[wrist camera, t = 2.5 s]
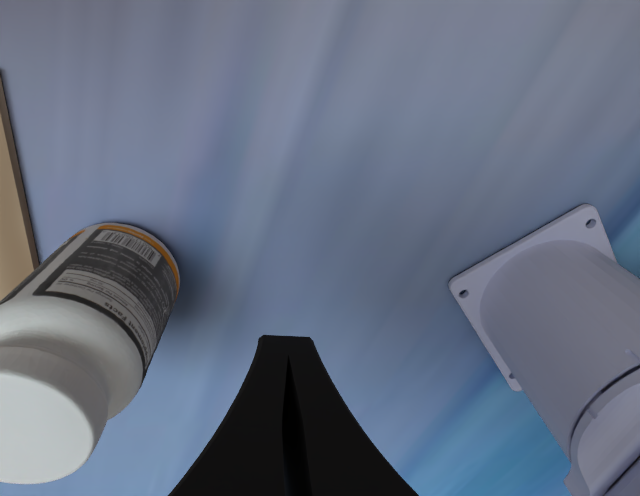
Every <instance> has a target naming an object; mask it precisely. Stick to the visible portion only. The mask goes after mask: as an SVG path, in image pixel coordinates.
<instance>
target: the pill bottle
mask: <svg viewBox="0 0 640 496" xmlns="http://www.w3.org/2000/svg"><path fill="white" fill-rule="evenodd" d="M179 287H180V274H179V270H178V266H177V263H176V261H175V259H174V257H173V256H172V254H171V253H170V251H169V250H168V249H167V248H166V247H165V245H164V244H163V243H162V242H161V241H159V240H158V239H157V238H156V237H154V236H153V235H151V234H149V233H147V232H146V231H144V230H142V229H139V228H137V227H134V226H131V225H126V224H119V223H101V224H96V225H92V226H89V227H87V228H85V229H82V230H81V231H79V232H77V233H76V234H75V235H73V236H72V237H71V238H69V239H68V240H67V241H66V242H64V243H63V244H62V245H61V246H60V247H59V248H58V249H57V250H56V251H55V252H54V253H53V254H51V255H50V256H49V257H48V258H47V259H46V260H45V261H44V262H43V263H42V264H41V265H40V266H39V267H37V268H36V269H35V270H34V271H33V272H32V273H31V274H30V275H29V276H27V277H26V278H25V279H24V280H23V281H22V282H21V283H20V284H19V285H18V286H16V287H15V288H14V289H13V290H12V291H11V292H10V293H9V294H8V295H7V296H5V297H4V298H3V299H2V300H1V301H0V482H5V483H14V484H38V483H45V482H50V481H54V480H57V479H60V478H63V477H65V476H67V475H69V474H71V473H73V472H75V471H76V470H77V469H79V468H80V467H81V466H82V465H83V464H84V463H85V462H86V461H87V460H88V458H89V457H90V455H91V454H92V452H93V450H94V449H95V447H96V445H97V443H98V441H99V438H100V436H101V434H102V432H103V430H104V427H105V425H106V422H107V420H109V419H111V418H113V417H114V416H116V415H117V414H118V413H120V412H121V411H122V410H123V409H124V408H125V407H126V406H127V405H128V404H129V403H130V402H131V401H132V399H133V398H134V397H135V395H136V394H137V392H138V390H139V389H140V387H141V385H142V383H143V380H144V378H145V376H146V373H147V370H148V367H149V365H150V362H151V360H152V358H153V354H154V352H155V350H156V348H157V346H158V343H159V341H160V339H161V336H162V333H163V331H164V329H165V326H166V324H167V321H168V319H169V316H170V313H171V311H172V309H173V307H174V303H175V301H176V298H177V295H178V292H179Z"/></svg>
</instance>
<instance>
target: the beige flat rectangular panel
mask: <svg viewBox="0 0 640 496" xmlns="http://www.w3.org/2000/svg"><path fill="white" fill-rule="evenodd" d="M37 267H39V261H38V256H37V252H36V247H35V242H34V237H33V232H32V227H31V222H30V218H29V213H28V208H27V203H26V198H25V193H24V188H23V184H22V179H21V174H20V169H19V164H18V159H17V154H16V150H15V145H14V140H13V135H12V130H11V125H10V120H9V116H8V111H7V106H6V101H5V96H4V91H3V86H2V82H1V77H0V301H1V300H2V299H3V298H4V297H5V296H7V295H8V294H9V293H10V292H11V291H12V290H13V289H14V288H15V287H16V286H18V285H19V284H20V283H21V282H22V281H23V280H24V279H25V278H26V277H27V276H29V275H30V274H31V273H32V272H33V271H34V270H35V269H36V268H37Z"/></svg>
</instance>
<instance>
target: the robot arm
mask: <svg viewBox="0 0 640 496" xmlns="http://www.w3.org/2000/svg"><path fill="white" fill-rule="evenodd" d="M589 219H591V222H590V223H589V224H588V225H586V222H587V221H588V220H589ZM448 287H449V289H450V291H451V292H452V294H453V296H454V297H455V299H456V300H457V302H458V304H459V305H460V307H461V309H462V310H463V312H464V313H465V315H466V317H467V318H468V320H469V321H470V323H471V325H472V326H473V328H474V329H475V331H476V333H477V334H478V336H479V337H480V339H481V341H482V342H483V344H484V345H485V347H486V349H487V350H488V352H489V353H490V355H491V357H492V358H493V360H494V361H495V363H496V365H497V366H498V368H499V369H500V371H501V373H502V374H503V376H504V378H505V379H506V381H507V382H508V384H509V386H510V387H511V389H512V390H513V391H521V390H523V391H524V392H525V394H526V395H527V397H528V398H529V400H530V401H531V403H532V404H533V406H534V408H535V409H536V411H537V412H538V414H539V415H540V417H541V418H542V420H543V421H544V423H545V424H546V426H547V427H548V429H549V430H550V432H551V433H552V435H553V436H554V438H555V439H556V441H557V443H558V444H559V446H560V447H561V449H562V450H563V452H564V453H565V455H566V456H567V458H568V459H569V461H570V462H571V469H570V471H569V474H568V475H567V476H566V478H565V479H564V484H565V485H566V487H567V488H568V490H569V492H570V493H571V495H572V496H640V279H639V278H638V277H636V276H635V275H633V274H632V273H630V272H629V271H628V270H626V269H625V268H623V267H622V266H620V265H619V264H618V263H617V261H616V258H615V256H614V253H613V250H612V248H611V245H610V243H609V240H608V237H607V235H606V232H605V230H604V227H603V224H602V222H601V219H600V216H599V214H598V211H597V209H596V208H595V207H593V206H592V205H589V204H583V205H581V206H579V207H577V208H575V209H574V210H572V211H570V212H568V213H566V214H565V215H563V216H561V217H559V218H558V219H556V220H554V221H552V222H551V223H549V224H547V225H545V226H543V227H542V228H540V229H538V230H536V231H535V232H533V233H531V234H529V235H528V236H526V237H524V238H522V239H521V240H519V241H517V242H515V243H513V244H512V245H510V246H508V247H506V248H505V249H503V250H501V251H499V252H498V253H496V254H494V255H492V256H491V257H489V258H487V259H485V260H483V261H482V262H480V263H478V264H476V265H475V266H473V267H471V268H469V269H468V270H466V271H464V272H462V273H461V274H459V275H457V276H455V277H453V278H452V279H451V280H450V282H449V285H448ZM462 290H466V292H465V293H463V294H459V293H460V292H461V291H462ZM511 373H512V374H511ZM168 496H419V495H418V494H417V493H416V492H415V491H414V490H413V489H412V488H411V487H410V486H409V485H408V484H407V483H406V482H405V481H404V480H403V479H402V477H401V476H400V475H399V474H398V473H397V472H396V471H395V469H394V468H393V467H392V466H391V465H390V464H389V462H388V461H387V460H386V459H385V458H384V457H383V455H382V454H381V453H380V452H379V450H378V449H377V448H376V446H375V445H374V444H373V443H372V441H371V440H370V439H369V437H368V436H367V435H366V433H365V432H364V431H363V429H362V428H361V426H360V425H359V423H358V422H357V421H356V419H355V418H354V416H353V415H352V413H351V412H350V410H349V409H348V407H347V405H346V404H345V402H344V401H343V399H342V397H341V396H340V394H339V392H338V390H337V389H336V387H335V385H334V384H333V382H332V380H331V378H330V376H329V375H328V373H327V371H326V369H325V367H324V365H323V363H322V361H321V359H320V357H319V354H318V352H317V350H316V347H315V345H314V342H313V340H312V339H311V338H310V337H296V336H274V335H263V336H261V337H260V338H259V340H258V346H257V350H256V353H255V356H254V359H253V362H252V364H251V367H250V369H249V371H248V374H247V376H246V378H245V380H244V382H243V384H242V386H241V388H240V390H239V392H238V394H237V396H236V398H235V400H234V402H233V403H232V405H231V407H230V409H229V410H228V412H227V414H226V416H225V417H224V419H223V421H222V422H221V424H220V426H219V427H218V429H217V430H216V432H215V433H214V435H213V437H212V438H211V440H210V441H209V442H208V444H207V445H206V447H205V448H204V450H203V451H202V453H201V454H200V455H199V457H198V458H197V459H196V461H195V462H194V463H193V465H192V466H191V467H190V469H189V470H188V471H187V473H186V474H185V475H184V477H183V478H182V479H181V480H180V482H179V483H178V484H177V485H176V487H175V488H174V489H173V490H172V492H171V493H170V494H169V495H168Z"/></svg>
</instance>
